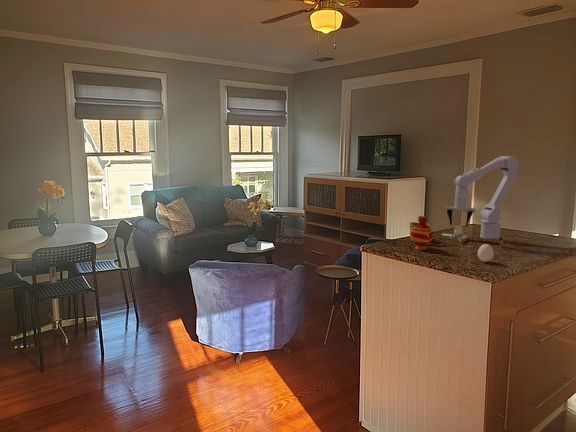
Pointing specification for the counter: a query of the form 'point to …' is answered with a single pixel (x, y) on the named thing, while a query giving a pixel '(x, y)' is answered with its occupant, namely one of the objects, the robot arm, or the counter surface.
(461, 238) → the rod with orange cap
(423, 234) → the red and yellow vase
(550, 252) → the counter surface
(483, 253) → the egg
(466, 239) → the board
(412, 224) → the flower pot
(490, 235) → the robot arm
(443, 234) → the pad
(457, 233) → the beige mushroom
